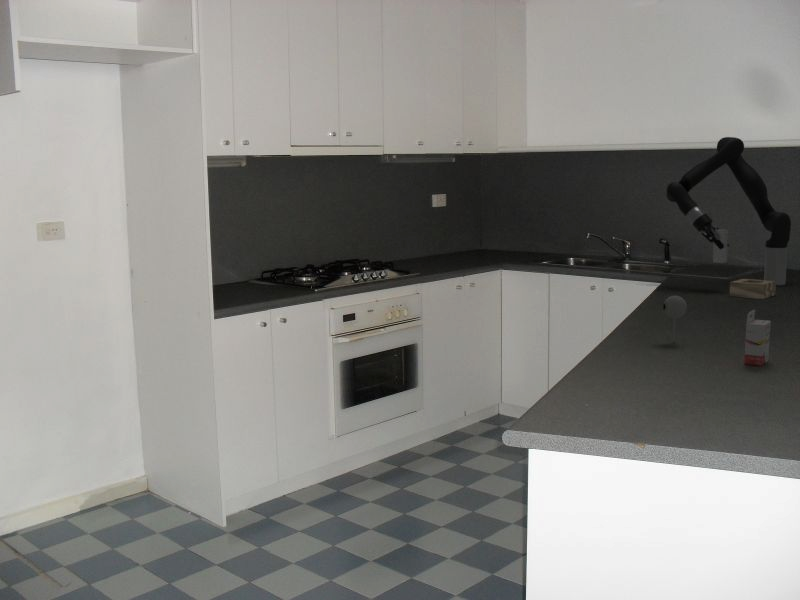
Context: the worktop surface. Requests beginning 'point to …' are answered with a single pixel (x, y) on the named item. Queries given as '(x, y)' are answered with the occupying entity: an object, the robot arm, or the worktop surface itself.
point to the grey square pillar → (721, 254)
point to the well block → (752, 288)
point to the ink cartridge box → (757, 340)
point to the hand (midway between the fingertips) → (724, 247)
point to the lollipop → (674, 309)
